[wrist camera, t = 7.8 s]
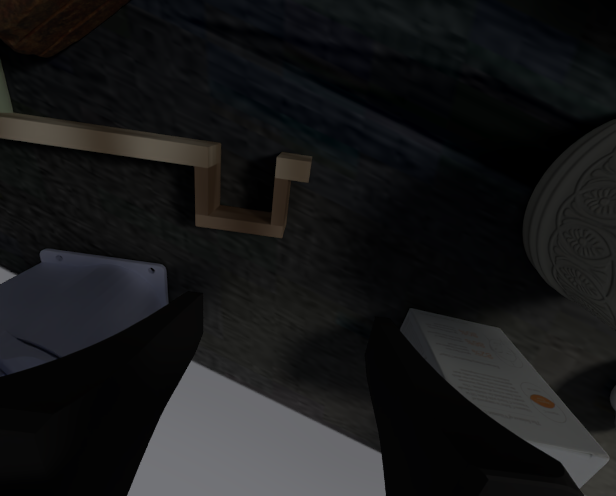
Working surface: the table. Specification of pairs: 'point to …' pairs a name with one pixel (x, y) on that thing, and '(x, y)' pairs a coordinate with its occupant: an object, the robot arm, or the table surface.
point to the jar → (578, 223)
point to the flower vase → (613, 401)
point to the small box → (504, 387)
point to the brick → (51, 23)
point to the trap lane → (166, 150)
